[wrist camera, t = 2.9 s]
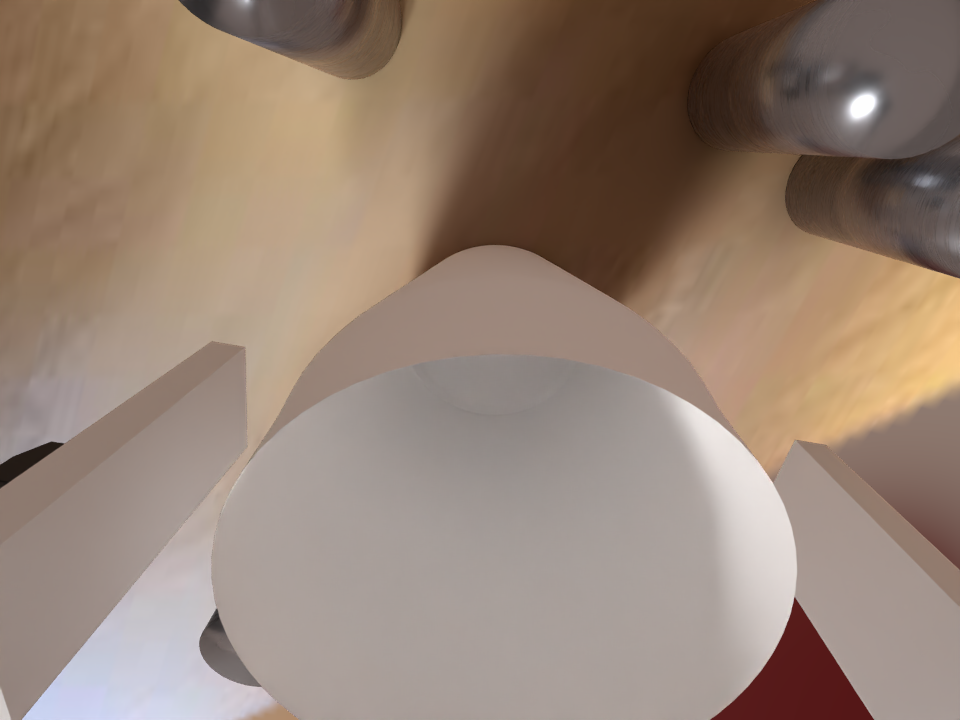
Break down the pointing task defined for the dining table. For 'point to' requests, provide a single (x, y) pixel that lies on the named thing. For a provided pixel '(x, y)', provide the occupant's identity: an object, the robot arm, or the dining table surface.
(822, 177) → the posts
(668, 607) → the cup
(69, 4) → the dining table surface
